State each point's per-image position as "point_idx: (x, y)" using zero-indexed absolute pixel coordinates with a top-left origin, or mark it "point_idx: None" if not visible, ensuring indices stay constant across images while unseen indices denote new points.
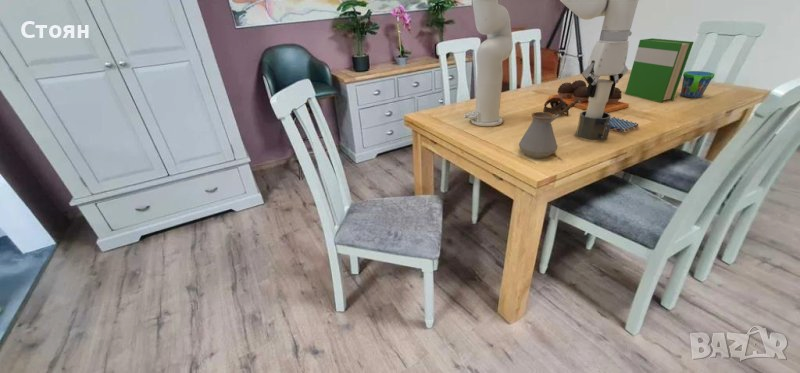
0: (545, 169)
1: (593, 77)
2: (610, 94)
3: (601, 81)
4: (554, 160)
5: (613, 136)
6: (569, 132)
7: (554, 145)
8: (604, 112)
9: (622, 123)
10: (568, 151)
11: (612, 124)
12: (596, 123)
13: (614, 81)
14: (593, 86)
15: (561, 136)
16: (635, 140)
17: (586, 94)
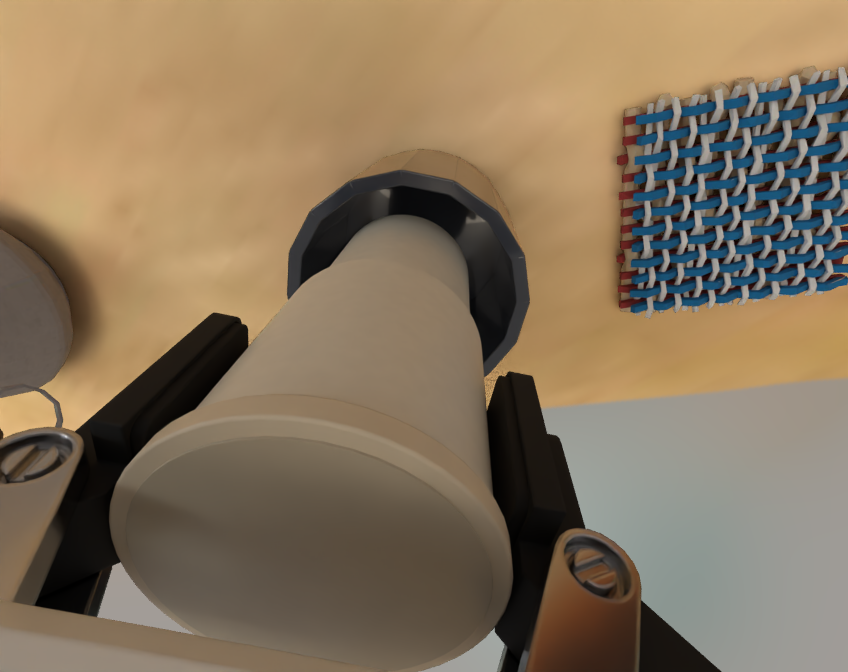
0: (6, 416)
1: (29, 585)
2: None
3: (262, 584)
4: (71, 377)
5: (549, 301)
6: (359, 105)
7: (9, 395)
8: (523, 294)
9: (763, 231)
10: (178, 338)
11: (684, 210)
12: None
13: (507, 646)
14: None
15: (258, 146)
16: (589, 390)
17: (214, 316)
